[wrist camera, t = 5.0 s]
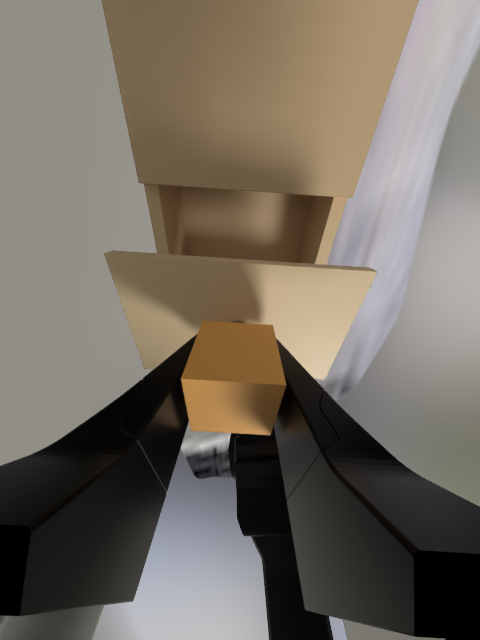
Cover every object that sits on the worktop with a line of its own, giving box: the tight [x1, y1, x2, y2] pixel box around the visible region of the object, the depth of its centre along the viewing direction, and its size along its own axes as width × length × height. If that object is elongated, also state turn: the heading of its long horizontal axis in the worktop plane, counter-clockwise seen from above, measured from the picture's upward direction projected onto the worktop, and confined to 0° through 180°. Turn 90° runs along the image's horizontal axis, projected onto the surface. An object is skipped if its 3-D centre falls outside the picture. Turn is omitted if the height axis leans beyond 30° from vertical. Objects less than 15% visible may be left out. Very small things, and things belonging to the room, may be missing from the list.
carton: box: [102, 0, 419, 265], centre depth 12 cm, size 15×12×6 cm
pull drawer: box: [104, 251, 377, 435], centre depth 8 cm, size 7×12×5 cm, turn 87°
